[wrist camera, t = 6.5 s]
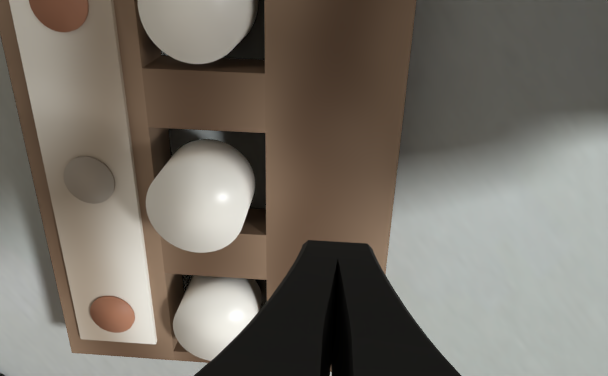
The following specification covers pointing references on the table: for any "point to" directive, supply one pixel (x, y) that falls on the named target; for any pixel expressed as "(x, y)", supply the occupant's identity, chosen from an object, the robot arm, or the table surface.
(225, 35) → the button
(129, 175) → the board
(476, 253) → the table surface
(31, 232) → the table surface
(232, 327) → the button
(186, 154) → the button middle
